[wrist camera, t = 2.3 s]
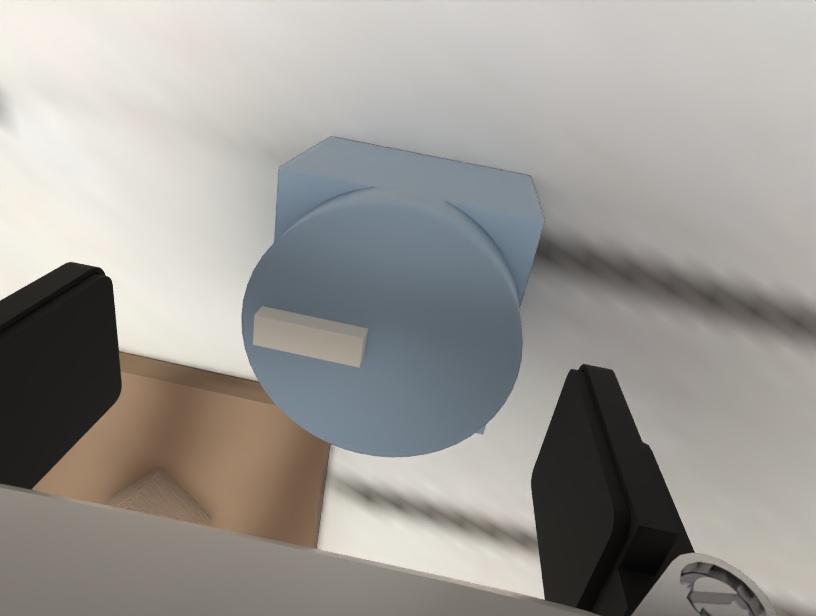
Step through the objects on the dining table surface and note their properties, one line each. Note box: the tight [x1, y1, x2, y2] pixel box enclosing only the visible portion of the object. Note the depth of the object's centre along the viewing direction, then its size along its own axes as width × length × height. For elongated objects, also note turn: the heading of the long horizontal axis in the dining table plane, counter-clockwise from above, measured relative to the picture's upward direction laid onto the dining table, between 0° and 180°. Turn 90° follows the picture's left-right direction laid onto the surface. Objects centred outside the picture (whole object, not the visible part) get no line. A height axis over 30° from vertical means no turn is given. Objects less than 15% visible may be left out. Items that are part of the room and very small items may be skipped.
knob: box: [242, 137, 545, 457], centre depth 16 cm, size 7×7×7 cm
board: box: [32, 352, 330, 549], centre depth 25 cm, size 14×14×1 cm
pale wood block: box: [104, 467, 213, 526], centre depth 23 cm, size 3×3×4 cm
